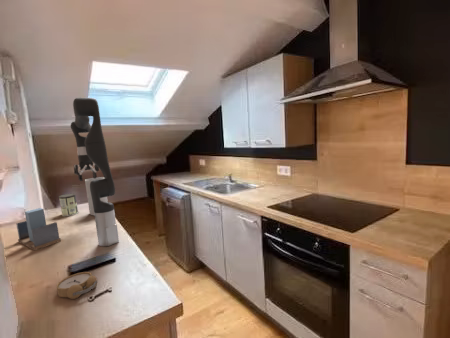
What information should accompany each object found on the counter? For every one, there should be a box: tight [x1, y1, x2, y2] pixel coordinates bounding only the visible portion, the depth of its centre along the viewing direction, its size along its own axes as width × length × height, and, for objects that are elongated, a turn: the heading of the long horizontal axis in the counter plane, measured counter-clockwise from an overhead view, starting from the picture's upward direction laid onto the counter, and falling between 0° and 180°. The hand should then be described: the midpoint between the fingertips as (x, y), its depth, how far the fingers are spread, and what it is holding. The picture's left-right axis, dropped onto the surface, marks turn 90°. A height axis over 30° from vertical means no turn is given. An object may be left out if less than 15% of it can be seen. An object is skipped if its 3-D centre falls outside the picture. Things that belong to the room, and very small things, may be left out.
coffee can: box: [58, 193, 79, 217], centre depth 182 cm, size 10×10×14 cm
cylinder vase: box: [84, 176, 109, 216], centre depth 181 cm, size 12×12×25 cm
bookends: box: [15, 220, 60, 247], centre depth 136 cm, size 21×11×9 cm, turn 57°
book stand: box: [17, 237, 62, 251], centre depth 136 cm, size 21×12×2 cm, turn 57°
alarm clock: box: [56, 271, 98, 300], centre depth 91 cm, size 11×5×15 cm
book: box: [24, 207, 47, 242], centre depth 135 cm, size 4×7×16 cm, turn 146°
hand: (88, 179), depth 158 cm, fingers open, 8 cm apart
